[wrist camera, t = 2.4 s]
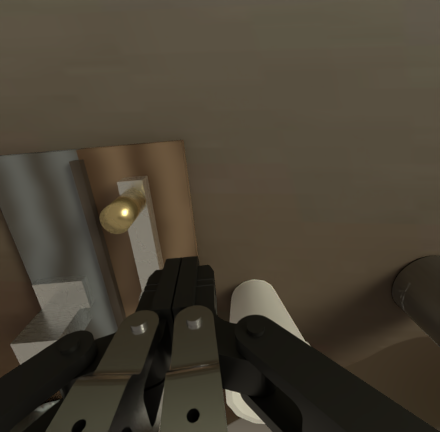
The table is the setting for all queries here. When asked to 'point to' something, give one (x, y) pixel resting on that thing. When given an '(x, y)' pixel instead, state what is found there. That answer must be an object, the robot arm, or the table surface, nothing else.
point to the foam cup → (256, 305)
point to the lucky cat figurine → (32, 416)
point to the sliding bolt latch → (94, 218)
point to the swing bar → (136, 224)
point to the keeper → (55, 314)
